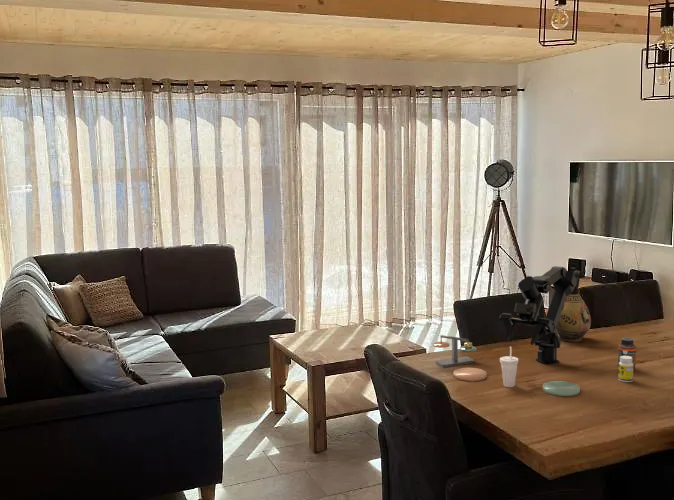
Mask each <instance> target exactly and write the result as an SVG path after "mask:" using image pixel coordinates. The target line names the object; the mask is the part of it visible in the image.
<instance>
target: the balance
mask: <svg viewBox="0 0 674 500" xmlns="http://www.w3.org/2000/svg"><path fill="white" fill-rule="evenodd" d="M439 337H440V341H435V342H433V343H432V346H433V347H434V348H440V349H441V348H443V349H445V348H448V347H450V345H451V358H446V359H439V360H435V362H434V363H435V364H436V365H438V366H439V367H440V368H441V367H442V368H449V367H455V366H456V367H457V366H462V365H467V364H468V365H469V364H475V361H476V360H475V359H473V358H471V357H469V356H468V355H467V356H459V357H458V355H459V350H460V351H461V352H466V353H469V352H470V353H471V352H475V351H477V347H476V346H473V342H470V339H469V338H463V337H457V336H452V335H451V336H450V335H444V334H440V336H439ZM442 339H448V340H451V344H450V343H449V342H446V341H442ZM458 341H461V342H464V344H463V345H462V346H460V347H458ZM458 348H459V349H458Z"/></svg>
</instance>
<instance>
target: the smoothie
mask: <svg viewBox="0 0 674 500" xmlns="http://www.w3.org/2000/svg"><path fill="white" fill-rule="evenodd" d="M512 353H513V349H512V346H509V355H507V356H505V355H504V356H501V357H499V362H500V367H501V377H502V383H503V386H504V387H506V388H513V387H515V385H516V378H517V371H518V363H519V358H518V357H516V356H512Z"/></svg>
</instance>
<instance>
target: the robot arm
mask: <svg viewBox="0 0 674 500" xmlns="http://www.w3.org/2000/svg"><path fill="white" fill-rule="evenodd" d="M576 283H577V281H576V278H575V276H574V275H573V272H570V271H568V270H567V268H566V267H564V266H556V265H555V266H552V267H551V269H549V270H548V271H546V272H545V273H544V274H542V275H536V276H532V275H531V276H529V275H528V276H526V277H525V278H523V279H521V280H520V281H519V282H518V289H519V292H520V293H521V294H522V297H523V298H524V299H525V302H524V303H518V302H516V303H515V307H514V310H513V311H514V312H515V313H516V316H517V317H518V318H517V317H514V316H513V314H512V313H508V312H506V313H505V312H502V313H501V314H500V315H499V317H498V318H499V319H498V320H500V322H501V324H502V326H503V327H504V328H505V340H506V342H509V341H510V339H511V337H512V335H513V332H514V330H515V328H514V327H515V326H516V324H517V325H522V326H530V327H535V330H534V331H533V334H532V336H531V337H532V338H531V340H530V345H531V346H533V345H534V346H538V350H537V358H535V361H537V362H540V363H542V364H544V365H551V364H555V363H560V360H558V356H557V355H558V354H557V353H558V350H557V349H560V348H561V344H562V340H560V338H559V334H558V331H557V328H556V325H557V322H558V319H559V316H560V313H561V310H562V308H563V305H564V302H565V299H566V296H568V295H569V294H571V293H572V292H573V290H574V287H575V286H576ZM552 286H553V287H552ZM552 288H553V290H554V292H553V294H552V297H551V301H550V304H549V306H548V309H547V312H546V314H545V317H539V316H540V309H541V306H542V304H544V303H545V301H544V297H543V295H542V294H545V295H546V294H549V292H550V291H551V290H552ZM538 317H539V318H538ZM537 318H538V320H537Z"/></svg>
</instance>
